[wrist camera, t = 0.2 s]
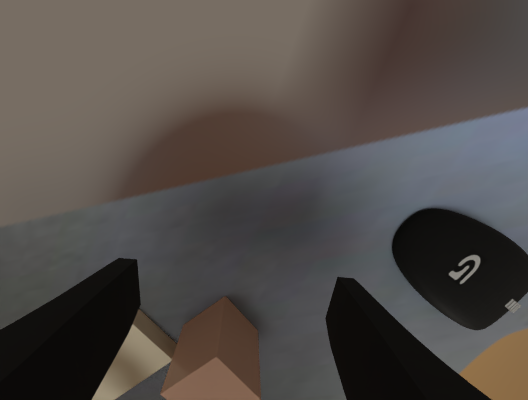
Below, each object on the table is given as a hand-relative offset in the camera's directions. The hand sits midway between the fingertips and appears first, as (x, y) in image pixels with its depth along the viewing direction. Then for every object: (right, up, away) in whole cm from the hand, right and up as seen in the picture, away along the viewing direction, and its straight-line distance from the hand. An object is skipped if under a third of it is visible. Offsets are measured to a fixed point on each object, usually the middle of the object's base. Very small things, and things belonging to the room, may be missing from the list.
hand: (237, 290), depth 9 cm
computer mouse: (+17, -2, +13) cm, 21 cm away
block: (-3, -8, +13) cm, 15 cm away
